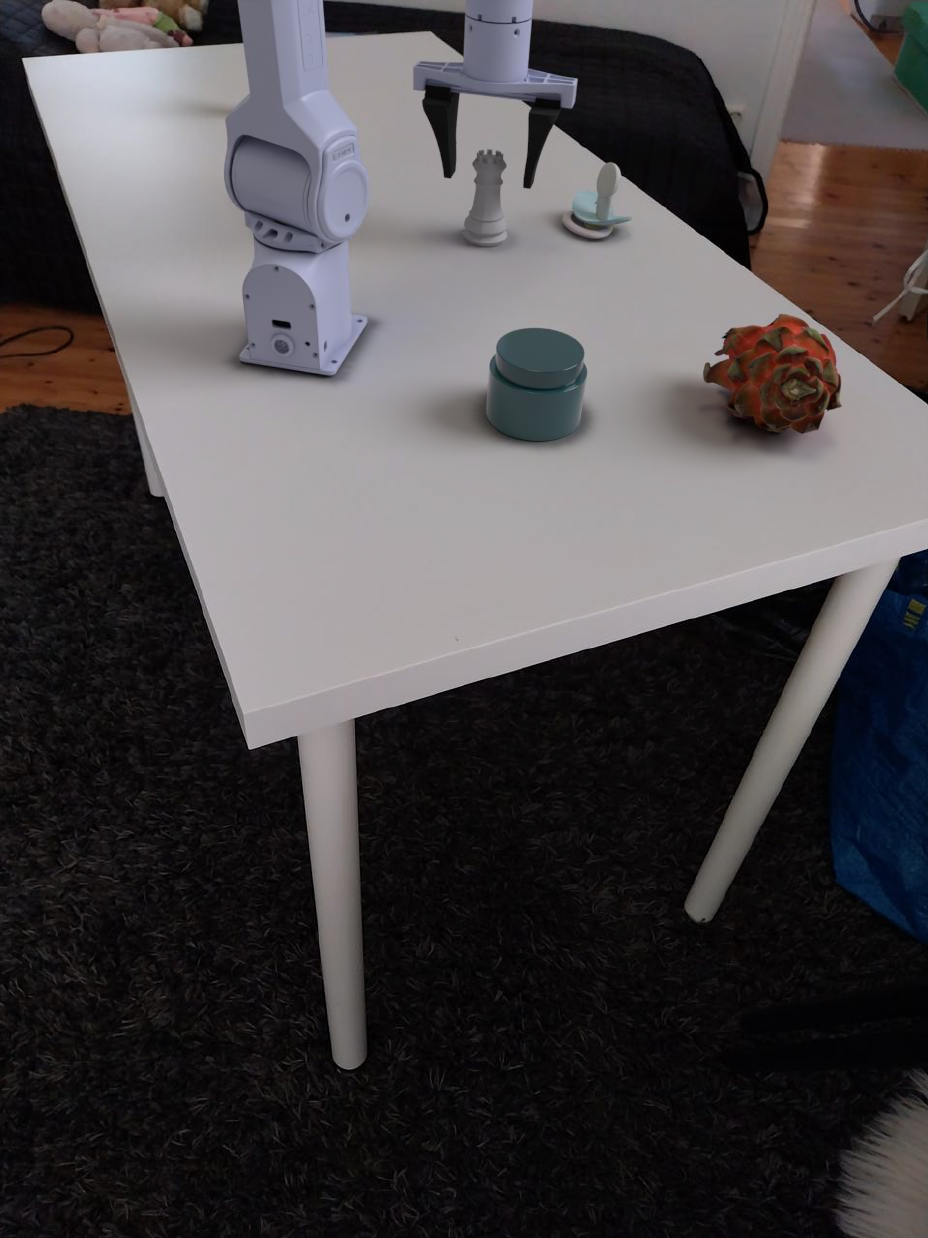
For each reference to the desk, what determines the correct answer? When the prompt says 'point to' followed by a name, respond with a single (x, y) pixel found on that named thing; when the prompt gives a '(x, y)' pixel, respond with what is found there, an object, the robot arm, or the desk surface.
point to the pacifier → (601, 215)
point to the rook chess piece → (487, 202)
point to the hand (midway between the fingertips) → (488, 179)
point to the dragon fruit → (778, 374)
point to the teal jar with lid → (536, 384)
